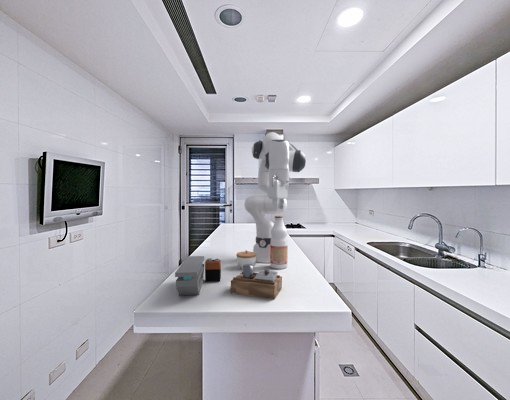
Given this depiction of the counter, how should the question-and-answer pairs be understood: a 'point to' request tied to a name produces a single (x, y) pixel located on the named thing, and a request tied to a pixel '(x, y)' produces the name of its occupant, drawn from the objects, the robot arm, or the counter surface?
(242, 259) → the lidded jar
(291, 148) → the robot arm
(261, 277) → the square lid with knob
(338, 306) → the counter surface
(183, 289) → the grey storage box
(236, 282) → the socket block
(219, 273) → the battery
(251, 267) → the grey rounded cylinder
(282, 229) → the fruit juice
